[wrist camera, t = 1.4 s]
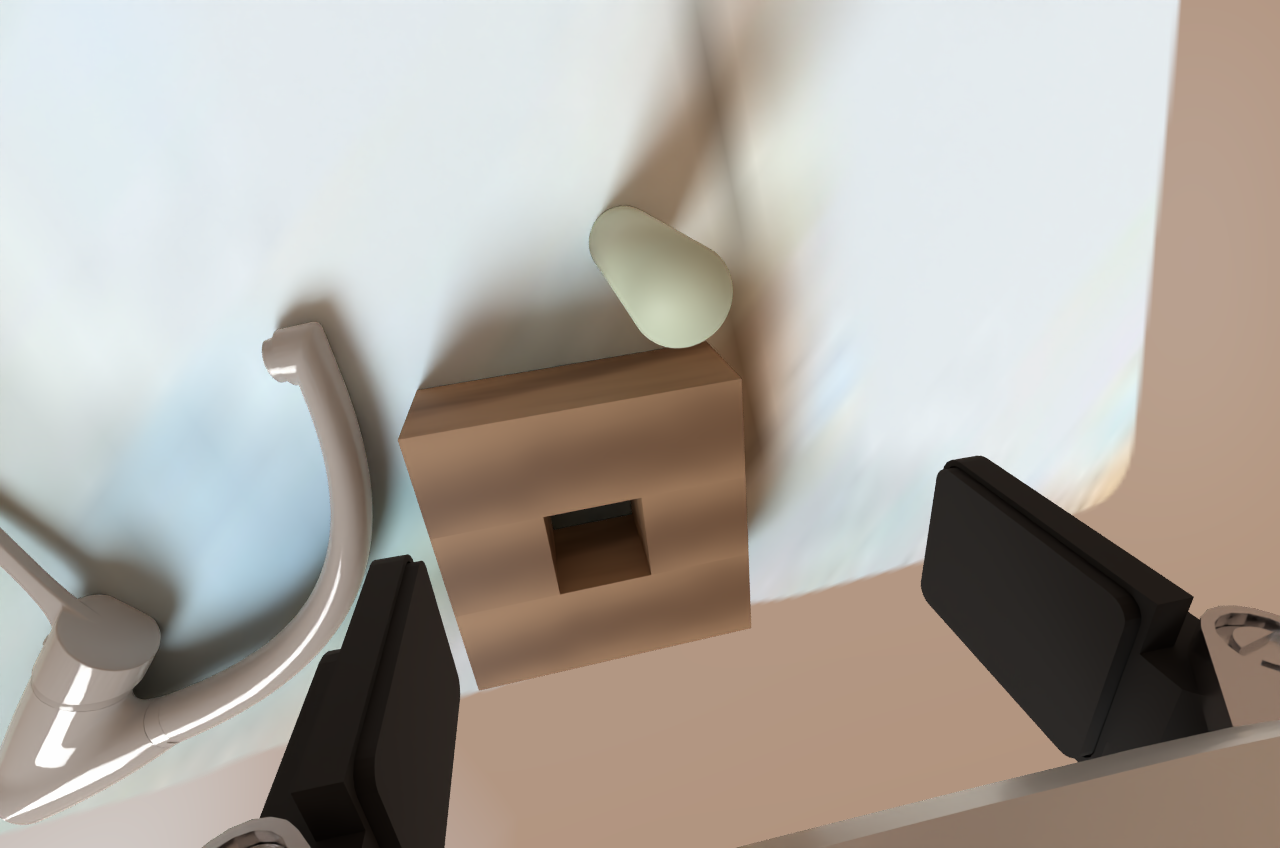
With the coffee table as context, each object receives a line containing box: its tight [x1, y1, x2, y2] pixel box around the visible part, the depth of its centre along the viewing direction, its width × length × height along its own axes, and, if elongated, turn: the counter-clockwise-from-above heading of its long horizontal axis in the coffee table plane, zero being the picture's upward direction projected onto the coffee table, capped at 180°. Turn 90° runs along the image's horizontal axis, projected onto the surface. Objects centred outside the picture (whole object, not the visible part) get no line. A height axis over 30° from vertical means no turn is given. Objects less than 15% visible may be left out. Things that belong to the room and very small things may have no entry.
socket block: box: [398, 342, 751, 690], centre depth 34 cm, size 16×16×6 cm
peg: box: [589, 206, 733, 348], centre depth 26 cm, size 4×4×12 cm
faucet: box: [0, 322, 373, 825], centre depth 31 cm, size 5×28×28 cm
